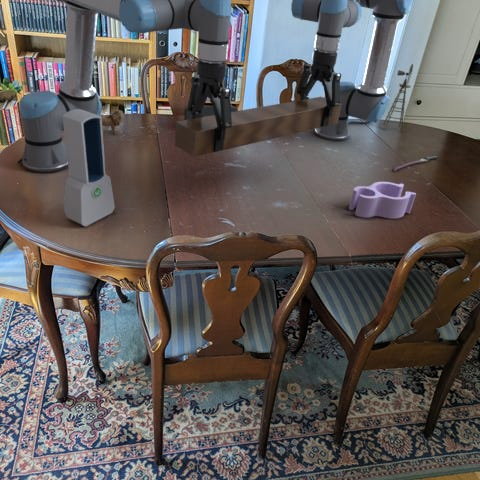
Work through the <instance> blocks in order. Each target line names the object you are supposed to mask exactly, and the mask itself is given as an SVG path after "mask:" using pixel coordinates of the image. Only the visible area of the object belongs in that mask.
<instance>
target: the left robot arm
mask: <svg viewBox="0 0 480 480" xmlns="http://www.w3.org/2000/svg"><path fill="white" fill-rule="evenodd" d="M56 1H57V2H60V3H64V5H65V6H66V25H65V26H66V29H65V51H64V52H65V53H64V54H65V55H64V79H63V80H62V81H61V82H60V83H59V84H58V93H57V94H56V92H54V91H51V90H41V91H40V90H37V91H32V92H29V93H26V94H24V95H23V96H22V97H21V98H20V100H19V103H18V104H19V116H20V119H21V125H22V132H23V137H24V148H23V153H22V157H20V159H19V160H18V161H17V164H21V163H22V166H23V168H24V169H25V170H27V171H29V172H33V173H39V174H46V173H56V172H61V171H63V170H66V169H67V168H68V159H67V150H66V144H65V143H64V140H63V132H64V125H63V115H64V114H65V113H67V112H69V111H71V110H74V109H80V110H84V111H87V112H90V113H93V114H96V115H99V116H101V115H102V110H103V104H102V101H100V100H101V97H100V95H99V94H98V92H97V90H96V87H94V86H93V84H92V83H93V73H94V61H95V58H94V57H95V46H96V36H97V35H96V34H97V21H98V14H101V15H102V16H105V17H108V18H110V19H113V20H115V21H118V22H119V23H121V25H122V27H124V28H125V30H126V31H128V32H129V33H133V34H138V33H139V34H146V33H152V32H161V31H171V30H180V29H181V30H182V29H183V30H190V31H194V32H198V33H197V34H198V35H197V36H198V37H197V38H198V39H197V54H196V56H197V58H198V60H197V63H196V74H197V76H196V75H195V76H192V77H191V88H190V92H189V97H188V104H187V107H188V108H187V109H188V111H190V112H191V114H192V119H194V118H200V117H203V116H202V115H199V114H203V113H202V112H201V111H202V109H203V107H204V106H205V104H206V102H207V100H208V99H209V102H210V103H211V106H213V109H214V113H215V118H216V122H217V127H215V139H214V151H215V152H214V153H217V152H216V151H218V152H222V151H224V150H223V145H224V140H225V133H226V128H230V127H232V118H231V106H232V105H231V104H232V103H231V95H232V89H231V88H230V87H228V88H226V87H225V86H224V82H223V81H224V79H225V78H226V77H227V67H228V63H227V60H228V53H229V52H228V51H229V36H230V35H229V33H230V25H231V18H232V17H231V16H232V0H56ZM221 122H222V124H221ZM221 150H222V151H221Z"/></svg>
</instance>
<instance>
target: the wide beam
mask: <svg viewBox="0 0 480 480" xmlns="http://www.w3.org/2000/svg"><path fill="white" fill-rule="evenodd" d="M341 105H342V104H339V106H335V107H333V111H332V116H331V117H330V118H329V123H328V125H327V126H330V125H334V124H338V119H339V115H340V110H341ZM325 106H327V103H326V98H325V96H316V97H309V99H304V100H300V99H299V100H292V101H287V102H282V103H276V104H275V103H274V104H271V105H270V104H269V105H264V106H259V107H252V108H247V109H242V110H241V109H240V110H238V111H235V112H231V118H232V127H230V128H226V133H225V140H224V145H223V150H221V151H220V152H222V151H225V150H230V149H231V150H232V149H235V148H239V147H243V146H247V145H252V144H257V143H260V142H264V141H265V142H266V141H269V140H274V139H278V138H282V137H287V136H290V135H295V134H299V133H305V132H308V131H312V130H315V129H317V128H321V127H322V126H321V123H322V118H323V112H324V107H325ZM221 124H222V122H221ZM215 127H217V122H216V118H215V115H212V116H206V117H200V118H194V119H188V120H184V119H183V120H177V121H175V127H174V128H175V129H174V131H175V132H174V146H176V147H177V148H179V149H180V150H182V151H183V152H186V153H187V154H188V155H191V156H192V157H193V158H194V157H195V158H196V157H201V156H205V155H208V154H214V153H217V152H219V151H216V152H215V151H214V139H215ZM323 127H325V126H323Z"/></svg>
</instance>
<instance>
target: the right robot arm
mask: <svg viewBox="0 0 480 480" xmlns="http://www.w3.org/2000/svg"><path fill="white" fill-rule="evenodd" d="M413 3H414V0H292V1H291V5H290V13H291V16H292V17H293V18H294V19H297V20H301V21H308V22H314V23H317V27H316V33H315V39H314V45H313V48H314V50H313V51H312V56H311V62H312V63H307V64H304V65H303V71H302V74H301V77H300V80H299V83H298V85H297V89H296V94H297V95H299V97H300V99H299V100H304V99H310V97H309V94H310V92H311V91H312V89H313V88H314V86H315V84H316V83H317V82H319V83H321V85H322V87H323V91H324V98H326V103H327V106H325V107H324V112H323V118H322V123H321V126H322V127H321V128H317V129H314V134H315V135H317V137H320V138H322V139H325V140H330V141H345V140H347V139H348V138H349V134H350V126H349V125H350V124H357V125H365V124H370V123H377V122H379V121H380V120H381V119H382V118H383V116H384V115H385V113H386V111H387V109H388V107H389V104H390V96H389V95H387V91H388V89H387V88H386V87H385V83H386V77H387V73H388V71H389V70H388V69H389V65H390V62H391V61H390V60H391V56H392V52H393V47H394V43H395V39H396V34H397V31H398V26H399V23H400V22H401V21H403V20H404V17H405V16H406V15H408V14H409V13H410V12H411V10H412V7H413ZM362 8H364V9H370V10H372V13H371V14H372V15H371V17H373V19H374V25H373V29H372V34H371V40H370V45H369V50H368V55H367V59H366V64H365V70H364V74H363V80H362V82H361V83H360V84H359V85H357V86H356V83H355V82H352V81H341V79H342V73H341V72H340V73H337V72H335V66H336V63H337V59H338V51H339V48H340V43H341V38H342V34H343V33H342V32H343V29H345V28H351V27H352V26H355V25H356V24H358V23H359V22H360V20H361V18H362V15H363V9H362ZM339 104H342V105H341V110H340V115H339V119H338V124H334V125H330V126H327V125H328V123H329V118H330V117H331V116H332V111H333V107H335V106H339ZM349 117H352V118H355V119H358V120H361V121H354V120H353V121H349ZM323 126H325V127H323Z"/></svg>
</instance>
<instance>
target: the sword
mask: <svg viewBox="0 0 480 480" xmlns="http://www.w3.org/2000/svg"><path fill="white" fill-rule="evenodd" d="M440 158H441V157H440V155H433V156H430V157H423V158H421V159H418V160H414V161H410V162H407V163H403V164H401V165H398V166H395V167H394V168H393V172H397V171H398V170H400V169H403V168H405V167H408V166H413V165H415V164H420V163H423V162H429V161H430V160H434V159H440Z"/></svg>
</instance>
